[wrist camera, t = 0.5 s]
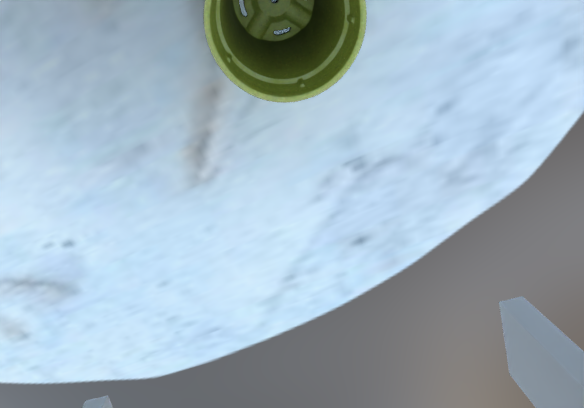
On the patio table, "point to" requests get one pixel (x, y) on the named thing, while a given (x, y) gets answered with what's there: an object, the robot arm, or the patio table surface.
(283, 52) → the plant pot
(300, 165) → the patio table surface
